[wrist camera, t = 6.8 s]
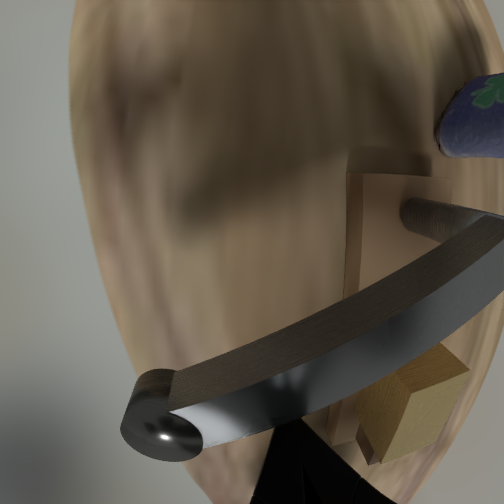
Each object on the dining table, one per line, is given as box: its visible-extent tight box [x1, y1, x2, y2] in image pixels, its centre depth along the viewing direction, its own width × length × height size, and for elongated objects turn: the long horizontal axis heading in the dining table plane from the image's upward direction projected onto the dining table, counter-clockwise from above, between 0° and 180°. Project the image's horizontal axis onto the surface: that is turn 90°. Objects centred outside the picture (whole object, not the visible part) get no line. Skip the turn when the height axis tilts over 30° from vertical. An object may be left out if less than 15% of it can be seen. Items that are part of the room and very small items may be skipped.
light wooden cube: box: [354, 342, 470, 464], centre depth 13 cm, size 6×4×5 cm, turn 3°
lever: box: [120, 197, 504, 462], centre depth 10 cm, size 15×2×7 cm, turn 115°
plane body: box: [326, 173, 451, 465], centre depth 15 cm, size 19×6×5 cm, turn 3°
